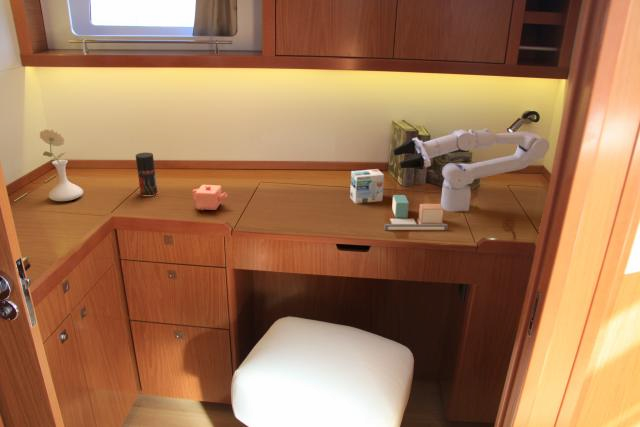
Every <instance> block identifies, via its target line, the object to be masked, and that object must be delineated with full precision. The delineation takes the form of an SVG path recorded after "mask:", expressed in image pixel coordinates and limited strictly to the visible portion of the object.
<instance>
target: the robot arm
mask: <svg viewBox="0 0 640 427" xmlns="http://www.w3.org/2000/svg"><path fill="white" fill-rule="evenodd" d="M497 144H498V145H517V148H516V150H515V152H514V153H513V154H512V155H507V156H503V157H498V158H493V159H489V160H487V159H486V160H483V161H480V162H479V161H478V162H475V163H454V162H449V163H447V164H445V165H444V166H443V167H442V170H441V174H442V177H443V178H444V180H443V182H442V190H441V198H440V204H441V205H442V206H443V208H444V211H447V212H453V213H454V212H468V211H469V209H470V203H471V197H472V194H471V193H472V191H471V186H470V185H469V184H472V183H473V182H474V180H476V179H481V178H486V177H490V176H491V177H492V176H495V175H498V174H499V175H500V174H503V173H508V172H514V171H518V170H523V169H526V168H527V167H528V166H530V165H531V164H533V163H535V162H536V161H537V160H541V159H543V158H545V156H546V155H547V153H548V152H549V150H550V141H548V139H547V138H544V137H541V135H538V134H537V133H535V132H534V131H525V130H522V131H514V132H513V131H511V132H500V133H499V132H498V133H494V132H493V131H492V130H490V129H488V128H487V127H486V128H483V129H482V130H474V129H471V128H470V129H469V130H468V131H467V130H465V129H459V128H457V129H456V130H454V131H453V132H452V133H451V134H447V135H443V136H440V137H437V138H433V139H431V140H426V141H423V140H420V139H419V138H418V137H417V136H416V137H413V138H412V137H409V138H408V139H407V140H406V141H405V142H403V143H402V144H400V145H399V146H398V147H396V148H394V149H393V156H400V155H406V154H412V155H413V154H414V156H412V157H410V158H407V159H403V160H402V161H400V162H399V165H400V169H418V170H424V168H429V167H431V166H432V163H431V160H430V159H432V158H435V157H440V156H443V155H446V154H448V153H452V152H455V151H459V150H461V151H465V152H466V151H470V150H471V149H482V148H483V149H484V148H486V149H487V148H492V147H493V146H494V145H497ZM416 152H417V154H416Z"/></svg>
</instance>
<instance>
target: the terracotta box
mask: <svg viewBox="0 0 640 427" xmlns="http://www.w3.org/2000/svg"><path fill="white" fill-rule="evenodd" d="M418 211H419V212H418V218H417V219H419V221H420V223H421V224H442V222H444V221H443V220H444V214H445V213H444V211H445V210H444V208H443V206H442V205H441V203H420V204H419V210H418Z"/></svg>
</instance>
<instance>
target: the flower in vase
mask: <svg viewBox="0 0 640 427" xmlns="http://www.w3.org/2000/svg"><path fill="white" fill-rule="evenodd" d="M39 138H40V139H41V140H42V141H43V142H44V143H46V144H48V145H49V146H50V147H49V151H44V152H43V154H42V156H46V157H49V158H54V159H55V160H53V161H51V164H52V165H53V166H55V168H56V171H57V173H58V177H59V180H58V181H59V182H58V184H56V185H55V186H54V187H53V188H52V189H51V190H50V192H49V193H48V198H49V199H50V200H51V201H55V202H68V201H69V202H70V201H72V200H73V201H74V200H77V199H78V198H79V197H81V196H82V195H83V194H84V190H83V188H81V187H80V186H79V185H77V184H74V183H73V182H70V181H69V180H68V178H67V173H66V166H67V163H68V162H69V160H67V159H59V158H61V157H62V156H63V155H64V154H65V152H62V153H59V155H57V157H56V156H55V155H54V153H53V151H52V146H53V147H59V146H63V145H65V139H64V137H63V136H62V134H61V133H59V132H58V131H54V130H53V129H50V130H49V129H43V130H42V131H39Z"/></svg>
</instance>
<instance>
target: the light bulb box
mask: <svg viewBox="0 0 640 427" xmlns="http://www.w3.org/2000/svg"><path fill="white" fill-rule="evenodd" d="M384 181H385V174H384V173H383V172H381V171H380V170H379V169H378V168H375V169H363V170H351V172H350V189H349V190H350V194H349V198H350V199H351V201H353V203H354V204H355V205H357V204H365V203H372V202H373V203H375V202H383V196H384V194H383V193H384V183H385V182H384Z"/></svg>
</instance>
